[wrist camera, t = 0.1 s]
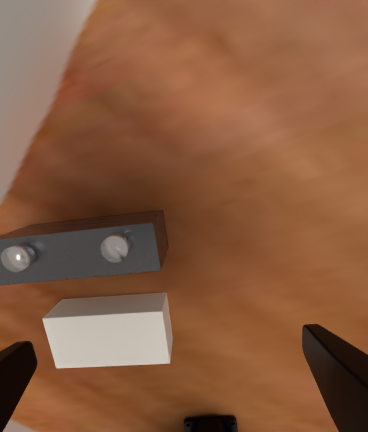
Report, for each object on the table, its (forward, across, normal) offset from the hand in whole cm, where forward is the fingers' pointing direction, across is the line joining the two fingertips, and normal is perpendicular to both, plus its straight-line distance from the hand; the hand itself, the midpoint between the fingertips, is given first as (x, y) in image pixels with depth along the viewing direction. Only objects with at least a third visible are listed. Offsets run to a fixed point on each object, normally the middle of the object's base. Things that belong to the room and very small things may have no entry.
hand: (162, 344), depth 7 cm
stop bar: (+15, +9, 0) cm, 17 cm away
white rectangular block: (+15, +9, +10) cm, 20 cm away
